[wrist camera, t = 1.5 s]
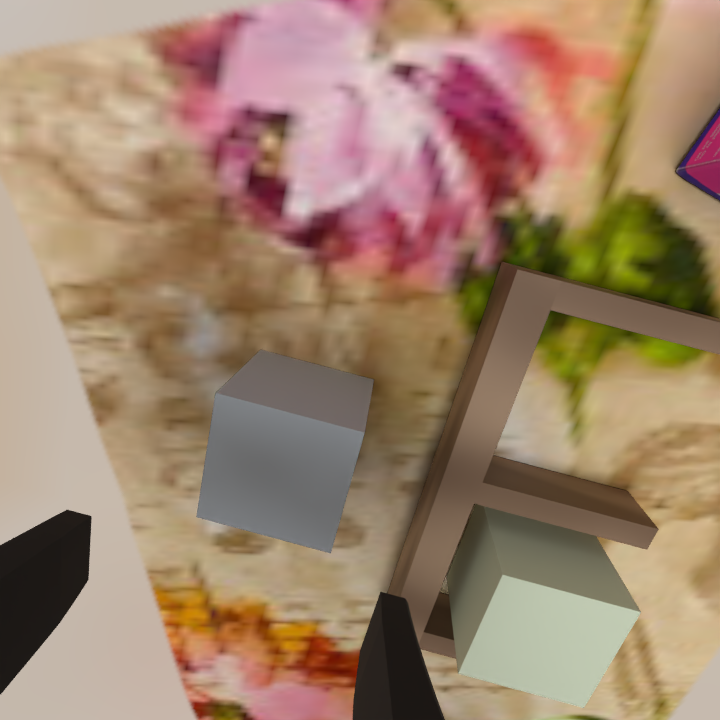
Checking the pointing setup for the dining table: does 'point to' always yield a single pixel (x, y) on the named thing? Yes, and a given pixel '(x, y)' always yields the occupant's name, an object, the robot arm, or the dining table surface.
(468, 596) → the sage block
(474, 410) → the comb rack
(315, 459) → the slate block
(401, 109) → the dining table surface
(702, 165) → the supplement box
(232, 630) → the dining table surface
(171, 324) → the dining table surface
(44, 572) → the robot arm
